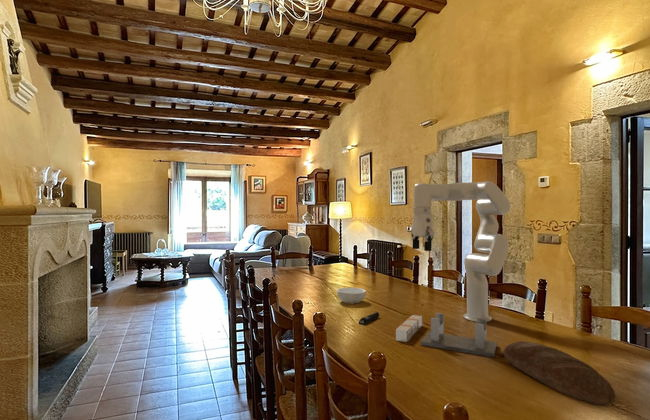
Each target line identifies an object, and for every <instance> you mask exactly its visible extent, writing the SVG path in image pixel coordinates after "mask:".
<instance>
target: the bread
mask: <svg viewBox="0 0 650 420" xmlns="http://www.w3.org/2000/svg"><path fill="white" fill-rule="evenodd" d="M503 354H504V357H505V359H507V360H506V361H508V362H509V363H510V365H512V366H513V367H515V368H516V369H518V370H520V371H521V372H523V373H525V374H526V375H528V376H530V377H531V378H533V379H534V380H536V381H538V382H540V383H542V384H544V385H545V386H547V387H550V388H551V389H554V390H555V391H557V392H559V393H562V394H564V395H566V396H569V397H571V398H574V399H577V400H580V401H583V400H584V402H586V401H587V402H586V403H589V402H590V404H594V405H598V406H603V405H604V406H605V405H610V404H612V403H614V401H615V400H616V397H617V396H616V393H615V390H614V388H613V386H612V385H611V383H610V382H609V381H608V380H607V379H606V378H605V377H604V376H603V375H601V374H600V373H599V372H598V371H597V370H596V369H595V368H594V367H592V366H591V365H589V364H588V363H586V362H584V361H582V360H580V359H578V358H576V357H574V356H572V355H570V354H568V353H566V352H564V351H562V350H559V349H557V348H554V347H551V346H546V345H544V344H541V343H536V342H530V341H524V340H521V341H520V340H519V341H515V342H512V343H510V344H508V345H506V346H505V348H504V350H503Z"/></svg>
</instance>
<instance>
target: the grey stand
mask: <svg viewBox="0 0 650 420" xmlns="http://www.w3.org/2000/svg"><path fill="white" fill-rule="evenodd" d="M434 314H435V317H430V331H428V332H427V333H426V334H425V336H424V337H422V339H421V341H420V346H423V347H428V348H429V347H430V348H435V349H440V350H447V351H452V352H458V353H463V354H464V353H465V354H468V355H469V354H470V355H476V356H482V357H487V358H492V359H493V358H494V359H495V356H496V351H497V346H498V342H497V341H491V340H487V322H486V319H483V318H478V319H477V322H475V323H474V338H473V337H472V338H471V337H466V336H458V335H451V334H447V333H444V329H445V328H444V324H445V322H444V316H445V315H444V314H445V313H442V312H435V313H434Z"/></svg>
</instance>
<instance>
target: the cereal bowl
mask: <svg viewBox="0 0 650 420" xmlns="http://www.w3.org/2000/svg"><path fill="white" fill-rule="evenodd" d="M366 294H367V290H365V289H364V288H359V287H341V288H337V290H336V295H337V298H338V299H339V300H340V301H342V302H344V304H348V303H351V304H350V305H354V303H356V304H359V302H362V301H363V300H364V299H365V298H366V296H367V295H366Z"/></svg>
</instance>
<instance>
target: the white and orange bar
mask: <svg viewBox="0 0 650 420" xmlns="http://www.w3.org/2000/svg"><path fill="white" fill-rule="evenodd" d="M421 327H423V316H422V315H417V314H412V315H410V316H409V317H408V318H407V319H406V320H405V321H404V322H403V323H400V325H399V326H398V327H397V328H396V329H395V341H397V342H404V343H408V342H409V341H410V340H411V338H413V336H414V335H415V334H416V333H417V332H418V331H419V329H421Z"/></svg>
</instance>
